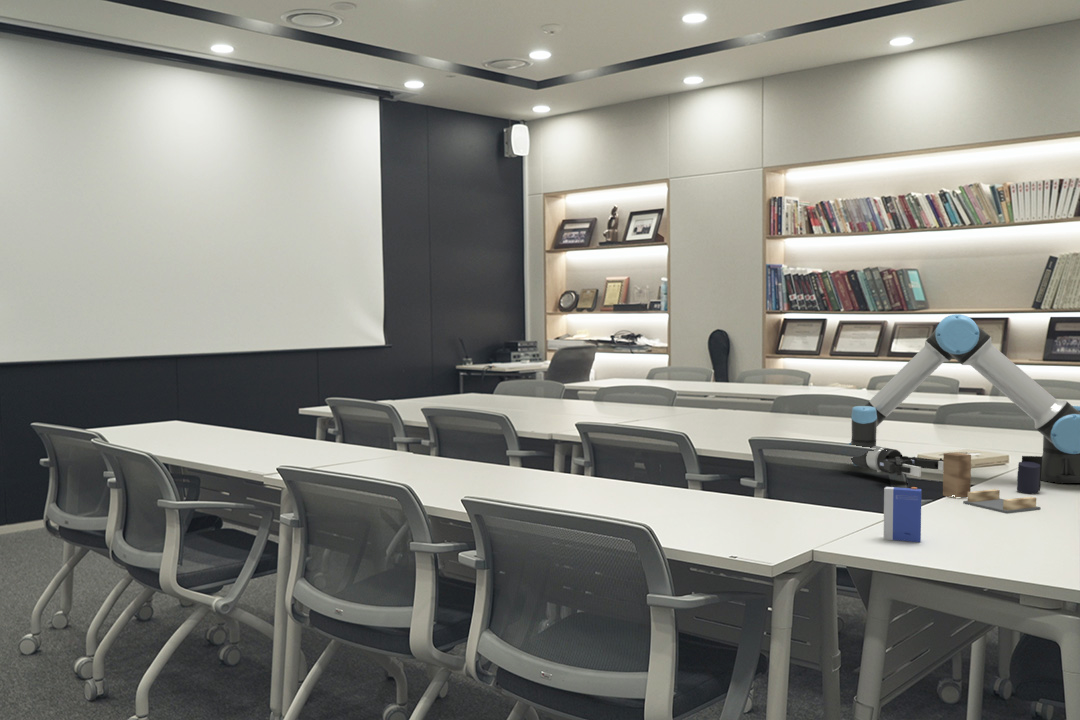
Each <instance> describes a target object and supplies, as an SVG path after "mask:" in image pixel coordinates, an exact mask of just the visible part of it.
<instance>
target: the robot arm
mask: <svg viewBox="0 0 1080 720" xmlns="http://www.w3.org/2000/svg"><path fill="white" fill-rule="evenodd" d="M953 358H954V359H955V360H956V361H957V362H959V364H961V366H971V367H972V368H973V369H974V370H976V372H977V373H979V374H980V375H981V376H982V377H983V378H984V379H986V380H987V382H989V383H990V384H992V385H993V387H995V388H996V389H997V390H998V391H999V392H1001V393H1002V394H1003V395H1005V397H1006V398H1007V399H1009V400H1010V401H1011V402H1012V403H1014V404H1015V405H1016V406H1017V407H1018V408H1020V410H1021V411H1023V412H1024V413H1025V414H1027V416H1028V417H1030V418H1031V419H1032V420H1033V422H1034V429H1036V431H1038V433H1040V434H1041V435H1042V438H1043V439H1042V455H1041V456H1042V470H1041V481H1043V482H1047V481H1048V483H1053V482H1055V484H1063V483H1080V405H1071V403H1069V402H1068V401H1067V400H1065V399H1063V400H1062V399H1061V400H1059V399H1056V398H1055V397H1054V396H1053V395H1052V394H1050V393H1049V392H1048V391H1047V390H1046V389H1045V388H1043V386H1041V385H1040V384H1039V383H1038V382H1037V381H1035V380H1034V379H1033V378H1032V377H1031V376H1029V375H1028V373H1026V371H1024V370H1022V369H1021V368H1020V367H1019V366H1018V365H1017V364H1016V363H1014V362H1013V361H1012V360H1011V359H1009V357H1008V356H1006V355H1005V354H1004V353H1002V351H1000V350H999V349H998V348H997V347H995V345H993V342H992V336H991V335H990V334H988V333H987V332H986V331H985V329H984V330H983V329H982V328H981V327H980V326H979V325H978V324H976V322H975V321H974V320H973V319H972V318H971V317H969V316H967V315H964V314H957V313H956V314H951V315H948V316H946V317H944V318H943V319H942V320H941V321H940V322H939V323H938V324H937V326H936V328H935V329H934V330H933V332H932V333H931V335H929V337H927V339H926V340H925V341H924V346H923V347H922V348H921V349H920V350H919V351H918V352H917V353H916V354H915V355H914V356H913V357H912V358H911V359H910V360H909V361H908V362H907V363H906V364H905V365H904V366H902V368H901V369H899V371H898V372H897V373H896V374H895V375H894V376H893V377H892V378H891V379H890V380H889V381H888V382H887V383H886V384H885V385H884V386H883V387H882V388H881V389H880V390H879V391H878V392H877V393H875V394H874V396H872V398H870V399H869V401H868V402H867V403H866V404H865V405H857V406H856V405H855V406H853V407H852V409H851V415H850V418H851V440H850V442H849V443H848V444H849V445H856V446H862V447H870V448H876V449H872V450H874V451H867V452H868V453H865V454H864V455H862V456H860V457H853V458H851V460H852V462H853V464H854V465H853V466H855V467H857V466H859V467H858V468H864V469H869V470H875V471H876V472H877V473H879V474H880V473H881V472H883V473H888V474H896V476H902V474H904V475H910V476H914V477H918V478H920V477H922V469H926V470H927V469H930V470H937V471H940V472H943V458H939V459H935V458H925V457H923V458H922V457H915V456H911V457H910V456H907V455H903V454H902V452H901V451H900V450H899V449H894V448H889V447H886V446H879V445H877V428H878V426H879V425H880V424H881V423H882V422H883V421H885V420H886V419H887V417H888V416H889V415H890V414H891V413H893V411H894V410H896V409H897V408H898V406H900V405H901V404H902V403H903V402H904V400H906V399H907V398H908V397H909V396H910V395H911V394H912V393H913V392H914V391H915V390H916V389H918V387H919V386H921V384H922V383H924V381H925V380H927V379H928V377H930V376H931V375H932V374H933V373H934V372H935V371H936V370H937V369H938V368H939V367H940V366H941V365H943V363H947V362H950V361H951V360H952V359H953ZM879 449H884V450H879ZM886 450H887V451H886ZM866 455H867V456H866Z"/></svg>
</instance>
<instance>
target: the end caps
mask: <svg viewBox="0 0 1080 720" xmlns="http://www.w3.org/2000/svg"><path fill="white" fill-rule="evenodd" d="M1000 493H1001V492H1000V490H999V489H995V488H994V489H985V490H984V489H983V490H976V491H975V490H973V491H970V492H968V498H967V501H969V502H978V501H988V500H997V499H999V498H1000ZM1036 506H1037V497H1035V496H1034V497H1033V496H1027V497H1018V498H1016V497H1015V498H1008V499H1005V500H1003V509H1004V510H1016V509H1025V508H1034V507H1036Z"/></svg>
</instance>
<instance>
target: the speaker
mask: <svg viewBox="0 0 1080 720" xmlns="http://www.w3.org/2000/svg"><path fill="white" fill-rule="evenodd" d="M1017 467H1018V470H1017V477H1016V478H1017V480H1016V481H1017V483H1016V491H1018V492H1019V493H1022V494H1028V495H1036V494H1039V492H1040V491H1041V484H1042V482H1041V481H1042V480H1041V470H1042V455H1041V456H1040V455H1038V456H1037V455H1034V456H1033V455H1022V456H1021V461H1019V462H1018V466H1017Z"/></svg>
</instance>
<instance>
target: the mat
mask: <svg viewBox="0 0 1080 720" xmlns="http://www.w3.org/2000/svg"><path fill="white" fill-rule="evenodd" d="M1003 500H1005V499H1003V498H1000V497H999V499H997V500H988V501H978V502H969V501H968V500H962V501H963V502H962V503H963V504H964V503H965V505H969V504H970V506H974V507H977V508H981V509H986V510H991V511H994V512H995V511H996V512H1000V513H1004V514H1013V513H1014V514H1015V513H1020V512H1021V513H1022V512H1031V511H1039V510H1041V507H1040V506H1037V505H1036V507H1034V508H1025V509H1016V510H1004V509H1003Z"/></svg>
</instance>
